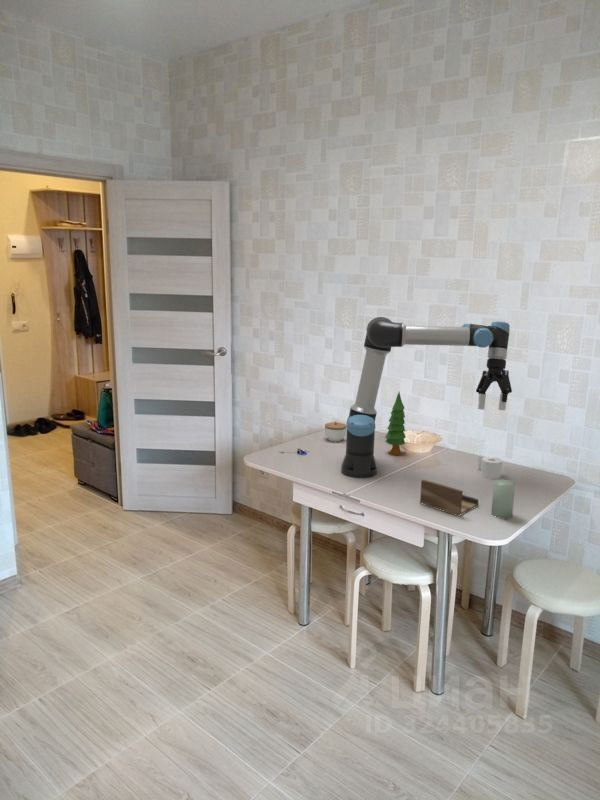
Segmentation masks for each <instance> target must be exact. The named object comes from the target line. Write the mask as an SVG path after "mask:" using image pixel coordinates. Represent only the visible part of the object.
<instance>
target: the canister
mask: <svg viewBox="0 0 600 800" xmlns="http://www.w3.org/2000/svg"><path fill="white" fill-rule="evenodd" d="M515 490H516V482H514V481H512V480H508V479H503V478H501V479H500V478H499V479H494V481H493V494H492V500H491V502H492V503H491V513H490V514H491V515H493V516H492V517H494V516H496V517H500V518H509V519H512V517H513V510H514V502H515V500H514V499H515ZM496 517H495V518H496ZM500 518H499V519H500Z"/></svg>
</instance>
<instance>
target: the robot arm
mask: <svg viewBox="0 0 600 800" xmlns="http://www.w3.org/2000/svg"><path fill="white" fill-rule="evenodd" d="M510 325H511V324H509V322H506V321H499V320H498V321H493V322H491V324H490V325H482V324H474V323H463V325H462V326H434V325H433V326H430V325H405V324H404V323H403V322H393V321H392V320H391V319H390V318H387V317H384V316H383V317H382V316H379V317H378V316H377V317H375V318H372V319H371V320H370V321H369V322H368V324H367V326H366V333H365V338H364V343H363V344H364V345H363V347H364V349H365V356H364V361H363V365H362V370H361V374H360V380H359V384H358V389H357V394H356V398H355V401H354V402H355V403H354V404H352V405H351V406H350V409H349V414H348V417H347V420H346V438H345V439H346V440H345V441H346V442H345V445H346V447H345V455H344V458H343V461H342V462H341V468H340V469H341V470H340V471H341V473H342V474H344V475H345V476H349V477H354V478H371V477H373V476H376V475H377V473H378V466H377V462H376V460H375V456H374V452H375V451H374V450H375V436H376V435H375V431H376V419H377V410H376V408H375V407H376V406H375V405H376V401H377V397H378V392H379V388H380V384H381V379H382V374H383V371H384V366H385V362H386V357H387V355H388V354H389V353H391V350H392V348H402V347H404V346H406V345H407V346H409V345H410V346H414V345H415V346H416V345H417V346H419V345H420V346H454V347H455V346H457V347H459V346H461V347H463V346H465V347H478V348H488V352H487V358H488V359H486V361H487V362H486V368H487V370H483V371H482V375H481V377H480V380H479V382H478V385H477V387H476V390H475V392H476V393H478V404H477V405H478V406H477V410H483V411H484V410H485V407H486V399H487V397H486V396H487V394H486V392H487V391H488V389H489V388H490V386H491V385H492V383H494V382H496V383H497V385H498V388H499V389H500V394H499V402H498V404H499V405H498V410H499V411H506V406H507V401H508V395H509V394H511V393H512V392H513V388H512V386H511V382H510V375H509V370H507V369H506V366H507V365H506V364H507V360H506V359H507V356H508V345H509V338H510V330H511V329H510Z"/></svg>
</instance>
